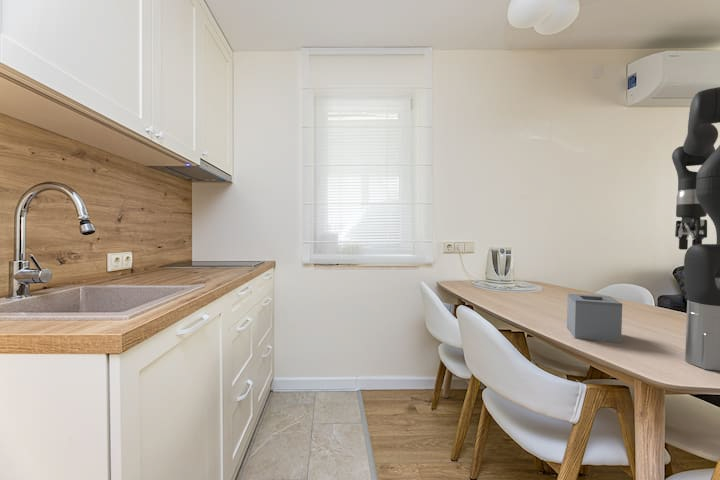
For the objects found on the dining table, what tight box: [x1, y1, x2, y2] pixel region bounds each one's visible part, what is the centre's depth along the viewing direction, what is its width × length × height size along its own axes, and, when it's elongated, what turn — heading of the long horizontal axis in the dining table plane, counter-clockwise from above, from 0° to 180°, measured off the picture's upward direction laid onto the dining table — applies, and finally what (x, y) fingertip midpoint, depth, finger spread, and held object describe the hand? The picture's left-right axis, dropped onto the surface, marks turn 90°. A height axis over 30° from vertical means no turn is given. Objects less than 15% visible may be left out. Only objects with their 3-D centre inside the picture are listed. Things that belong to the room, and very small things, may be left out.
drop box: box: [566, 293, 623, 344], centre depth 117 cm, size 13×13×13 cm
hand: (689, 250), depth 115 cm, fingers open, 8 cm apart
